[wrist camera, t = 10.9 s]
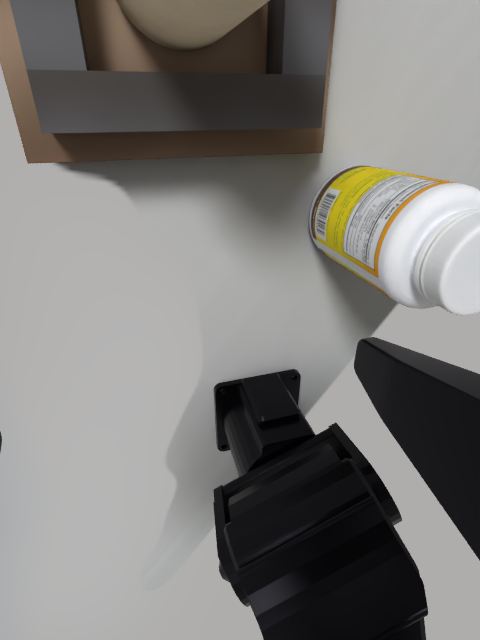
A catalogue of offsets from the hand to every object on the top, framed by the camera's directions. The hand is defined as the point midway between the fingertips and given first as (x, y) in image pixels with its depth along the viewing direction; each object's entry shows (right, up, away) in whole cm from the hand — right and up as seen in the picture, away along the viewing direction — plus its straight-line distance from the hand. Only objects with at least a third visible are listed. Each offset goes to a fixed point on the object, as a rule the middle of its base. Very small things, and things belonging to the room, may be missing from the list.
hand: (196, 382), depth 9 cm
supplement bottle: (+8, +8, +14) cm, 18 cm away
